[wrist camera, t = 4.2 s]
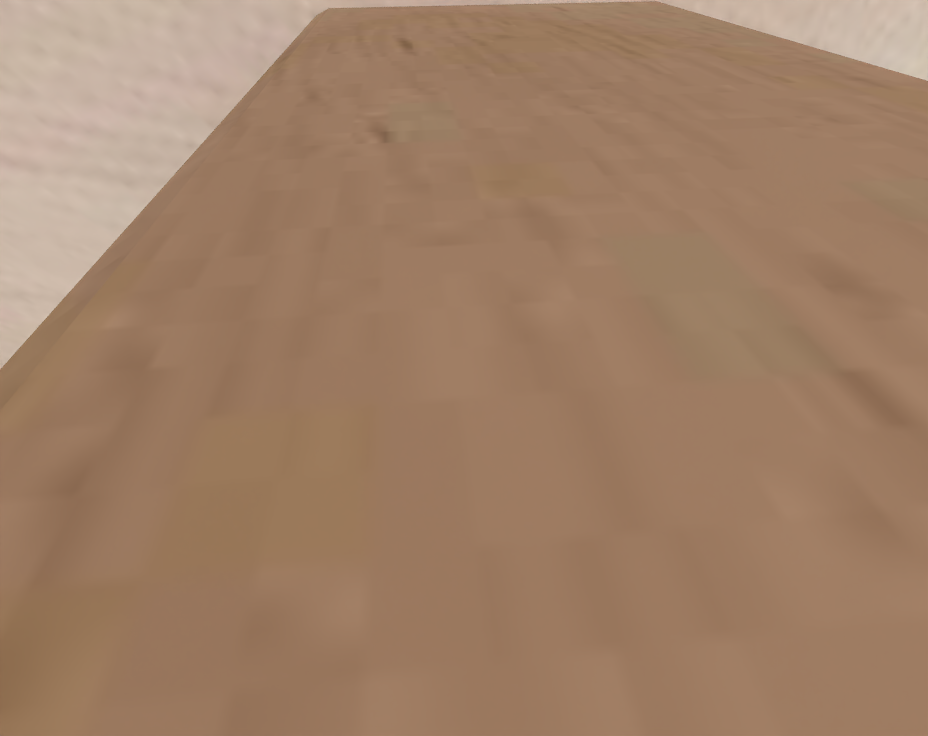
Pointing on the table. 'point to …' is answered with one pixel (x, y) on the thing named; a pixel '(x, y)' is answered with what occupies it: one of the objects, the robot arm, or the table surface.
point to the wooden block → (492, 399)
